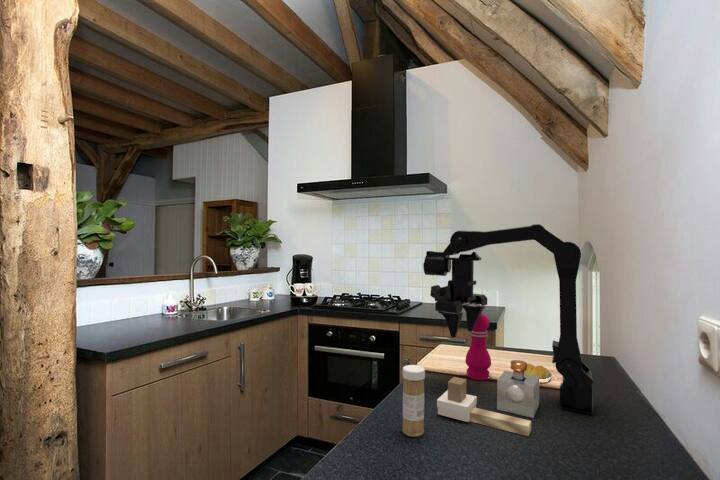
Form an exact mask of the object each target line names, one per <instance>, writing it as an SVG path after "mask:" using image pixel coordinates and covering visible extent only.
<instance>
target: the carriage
mask: <svg viewBox="0 0 720 480" xmlns="http://www.w3.org/2000/svg"><path fill="white" fill-rule="evenodd" d="M477 401H478V397H477V396H476V395H472V394H467V379H466V378H461V377H458V376H457V377H456V376H453V377H452V378H450V380H448V381H447V390H446V391H445V392H443V394H441V396H439V397H438V398H437V400H436V407H437V415H439V416H444V417H447V418H451V419H456V420H458V421H463V422H465V423H470V422H471V421H470V411H471V410H472V408H473V407H475V408H477Z"/></svg>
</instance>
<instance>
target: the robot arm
mask: <svg viewBox="0 0 720 480" xmlns="http://www.w3.org/2000/svg"><path fill="white" fill-rule="evenodd" d="M525 241H536V242H537V243H538V244H540V246H542V247H543V248H545V250H547V251H549V252H551V253H552V254H553V259H554V263H555V268H556V272H557V275H558V280H559V284H558V285H559V288H558V289H559V337H558V338H559V339H558V341H557V340H552V347H551V348H552V352H553V354H552V361H551V362H552V364H555V368H556V371H557V372H558V373H559V374H560V375H561V376H562V377H563V379H562V383H560V385H559V403H560V404H561V406H560V408H561V409H563V410H568V411H572V412H577V413H581V414H585V415H593V414H594V408H595V407H594V379H593V375H592V370H591V369H590V367H589V366H587V365H586V364H585V363H584V362H583V359H582V353H581V350H580V349H581V348H580V345H579V341H578V340H579V339H578V336H577V335H578V332H577V329H578V328H577V324H578V323H577V277H578V274H579V273H578V272H579V267H580V263H581V257H582V251H581V249H580V247H579V245H577V244H576V243H574V242H571V241H563V240H562V239H560V238H559V237H557V236H556V235H554V234H553V233H551V232H550V231H548V229H546V228H545V226H543V225H542V224H539V223H535V224H531V225H526V226H517V227H510V228H505V229H504V228H503V229H496V230H489V231H488V230H487V231H486V230H485V231H480V230H479V231H477V230H457V231H455V232H453V233H452V235H451V236H450V239H449V244H448V245H447V246H446V248H445V249H444V250H443V251H433V250H426V255H425V257H424V261H423V263H422V264H423V266H422V267H423V273H424V275H426V276H438V277H439V276H441V277H446V276H447V275H448V273H451V279H449V280H448V281H447V285H446V286H440V284H435V285H432V286H430V294H429V295H430V297H431V298H433V299H434V301H435V302H434V311H437V313H438V314H441V315H442V316H443V317H444V320H445V321H446V324H447V325H446V326H447V328H448V331H449V333H450V337H452V338H453V339H454V338H456V337H457V334H458V331H459V327H460V326H461V321H462V318H463V314H464V312H463V310H464V311H465V316H466V317H465V318H466V325H467V332H469V333H470V332H472V331H473V328H474V326H475V324H476V322H477V320H478V318H479V316H480V315H481V314H483V311H484V309H485V308H486V306H487V305H488V296H486V295H485V294H481V293H480V294H479V293H474V286H476V285H477V280H474V272H475V271H474V267H475V266H474V263H475V262H478V261H482V257H481V256H479V254H478V253H477V252H476V251H473V250H476V249H480V248H483V247H487V246H491V245H499V244H509V243H514V242H515V243H516V242H525ZM471 251H473V252H471ZM464 252H465V253H464ZM466 252H471V254H470V253H468V254H466ZM455 255H459V256H458V257H451V256H455Z"/></svg>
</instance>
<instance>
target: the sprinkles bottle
mask: <svg viewBox="0 0 720 480" xmlns="http://www.w3.org/2000/svg"><path fill="white" fill-rule="evenodd" d="M425 378H426V369H425V367H423V366H421V365H417V364H408V365H404V366H403V367H402V379H403V380H402V382H403V384H402V385H403V386H402V429H401V430H402V432H403V434H405V436H408V437H413V438H414V437H415V438H416V437H421V436H422V435H424V433H425V428H424V419H425Z"/></svg>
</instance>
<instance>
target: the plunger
mask: <svg viewBox="0 0 720 480" xmlns="http://www.w3.org/2000/svg"><path fill="white" fill-rule="evenodd" d="M527 364H528V362H526V361H523V360H519V359H513V360H510V369H511V370H512V372H513V379H514V380H519V381H524V371H526V370H527Z"/></svg>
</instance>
